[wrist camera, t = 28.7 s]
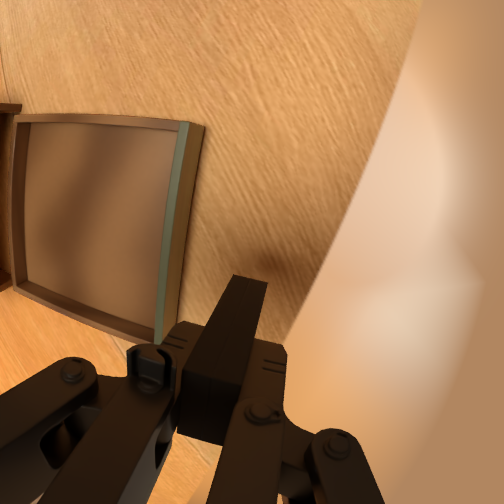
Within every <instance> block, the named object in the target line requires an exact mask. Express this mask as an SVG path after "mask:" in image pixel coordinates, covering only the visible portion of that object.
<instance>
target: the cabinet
mask: <svg viewBox="0 0 504 504" xmlns="http://www.w3.org/2000/svg"><path fill="white" fill-rule="evenodd" d="M21 106H22V104H10V103H0V113H10V112H20V111H21ZM12 285H13V283H12V275H11V274H10V273H8V272H6V271H4V270H2V269H0V292H2V291H3V290H5V289H7V288H9V287H10V286H12Z"/></svg>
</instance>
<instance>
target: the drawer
mask: <svg viewBox="0 0 504 504" xmlns="http://www.w3.org/2000/svg"><path fill="white" fill-rule="evenodd" d="M13 122H14V123H13V129H12V137H11V146H10V157H9V171H8V240H9V254H10V265H11V275H12V283H13V290H14V291H16V292H18V293H19V294H21V295H23V296H25V297H27V298H29V299H31V300H33V301H35V302H37V303H40V304H42V305H44V306H46V307H48V308H50V309H52V310H54V311H57V312H59V313H61V314H63V315H65V316H68V317H70V318H72V319H74V320H77V321H79V322H81V323H84V324H86V325H89V326H91V327H93V328H96V329H98V330H101V331H103V332H106V333H108V334H111V335H113V336H116V337H119V338H121V339H124V340H127V341H129V342H132V343H135V344H144V343H152V344H157V345H160V344H161V343H162V341H163V340H164V338H165V337H166V336H167V334H168V333H169V331H170V330H171V328H172V327H173V326H174V325H176V316H177V306H178V297H179V288H180V279H181V271H182V263H183V255H184V248H185V240H186V233H187V226H188V219H189V213H190V206H191V200H192V194H193V188H194V182H195V176H196V170H197V164H198V159H199V153H200V148H201V143H202V137H203V132H204V126H202V125H199V124H196V123H192V122H188V121H177V120H168V119H159V118H148V117H136V116H121V115H102V114H23V115H14V121H13Z"/></svg>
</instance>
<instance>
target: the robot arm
mask: <svg viewBox="0 0 504 504" xmlns="http://www.w3.org/2000/svg"><path fill="white" fill-rule="evenodd" d="M267 284H268V283H267V282H263V281H259V280H255V279H251V278H247V277H242V276H238V275H234V274H233V276H232V278H231V280H230V282H229V283H228V285H227V287H226V289H225V291H224V293H223V294H222V296H221V298H220V300H219V302H218V304H217V305H216V307H215V309H214V311H213V313H212V315H211V316H210V318H209V320H208V322H207V324H206V326H201V325H198V324H194V323H190V322H187V321H182V322H180V323H178V324H176V325H174V326H173V327H172V328H171V330H170V331H169V333H168V334H167V336H166V337H165V338H164V340H163V341H162V343H161V344H160V345H157V344H152V343H144V344H138V345H135V346H132V347H131V348H130V349H128V350H127V376H126V377H111V376H105V375H98V374H97V372H96V369H95V367H94V365H93V364H92V363H91V362H89V361H87V360H85V359H83V358H79V357H66V358H63V359H61V360H58V361H57V362H55V363H53V364H52V365H50V366H48V367H47V368H45V369H43V370H42V371H40V372H38V373H37V374H35V375H33V376H31V377H30V378H28V379H26V380H25V381H23V382H21V383H20V384H18V385H16V386H15V387H13V388H11V389H10V390H8V391H6V392H5V393H3V394H1V395H0V504H31V503H32V502H33V501H34V500H36V499H37V498H38V497H39V496H41V495H42V494H43V495H42V496H41V498H40V499H39V501H38V502H37V504H146V503H147V501H148V499H149V497H150V494H151V492H152V490H153V487H154V485H155V483H156V481H157V478H158V476H159V474H160V472H161V469H162V467H163V465H164V462H165V460H166V458H167V456H168V453H169V451H170V449H171V446H172V436H173V434H174V431H175V429H176V427H177V433H178V434H182V435H185V436H188V437H191V438H195V439H198V440H201V441H205V442H209V443H212V444H216V445H220V446H223V447H222V451H221V454H220V458H219V461H218V465H217V468H216V471H215V475H214V478H213V481H212V485H211V488H210V492H209V495H208V498H207V502H206V504H277V497H278V493H279V494H281V495H282V501H283V504H385V502H384V500H383V498H382V495H381V493H380V490H379V488H378V486H377V483H376V481H375V478H374V476H373V474H372V471H371V469H370V466H369V464H368V462H367V459H366V457H365V455H364V452H363V450H362V448H361V445H360V444H359V442H358V441H357V439H356V438H355V437H354V436H352V435H351V434H350V433H348V432H346V431H343V430H341V429H333V428H329V429H325V430H321V431H319V432H318V433H316V434H313V433H311V432H308V431H306V430H303V429H301V428H300V427H298V426H296V425H294V424H293V423H292V422H291V421H290V420H289V419H288V418H287V416H286V415H285V412H284V410H283V401H284V390H285V378H286V365H287V353H286V351H285V349H284V347H283V345H281V344H277V343H272V342H268V341H264V340H259V339H255V338H254V337H255V333H256V329H257V325H258V321H259V317H260V313H261V309H262V305H263V301H264V297H265V292H266V288H267Z"/></svg>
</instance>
